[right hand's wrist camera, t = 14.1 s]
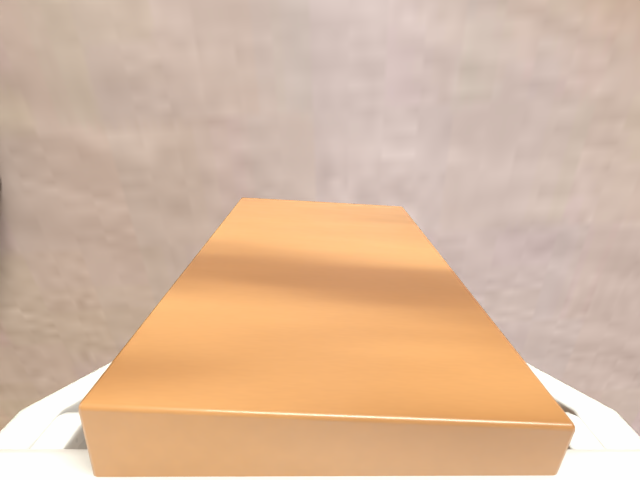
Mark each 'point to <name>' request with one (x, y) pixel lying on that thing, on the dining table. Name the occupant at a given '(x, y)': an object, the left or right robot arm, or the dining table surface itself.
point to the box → (320, 361)
